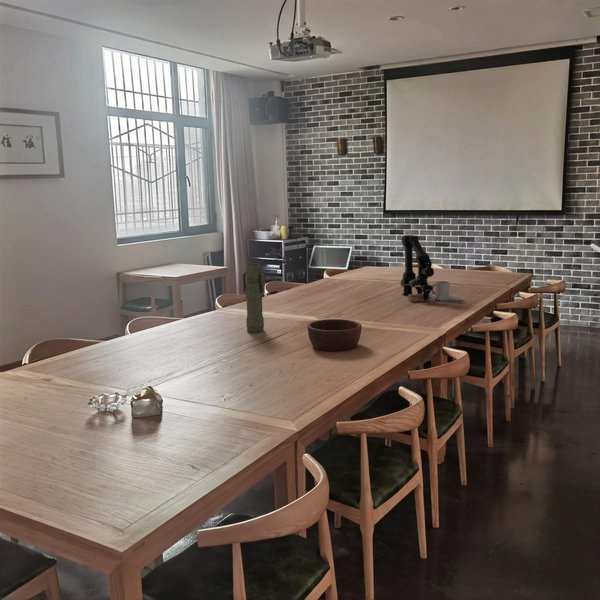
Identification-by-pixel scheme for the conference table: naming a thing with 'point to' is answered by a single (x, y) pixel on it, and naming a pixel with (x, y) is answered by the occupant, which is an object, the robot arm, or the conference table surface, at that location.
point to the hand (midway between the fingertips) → (422, 299)
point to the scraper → (420, 298)
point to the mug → (442, 290)
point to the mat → (452, 299)
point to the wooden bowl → (334, 334)
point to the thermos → (254, 297)
